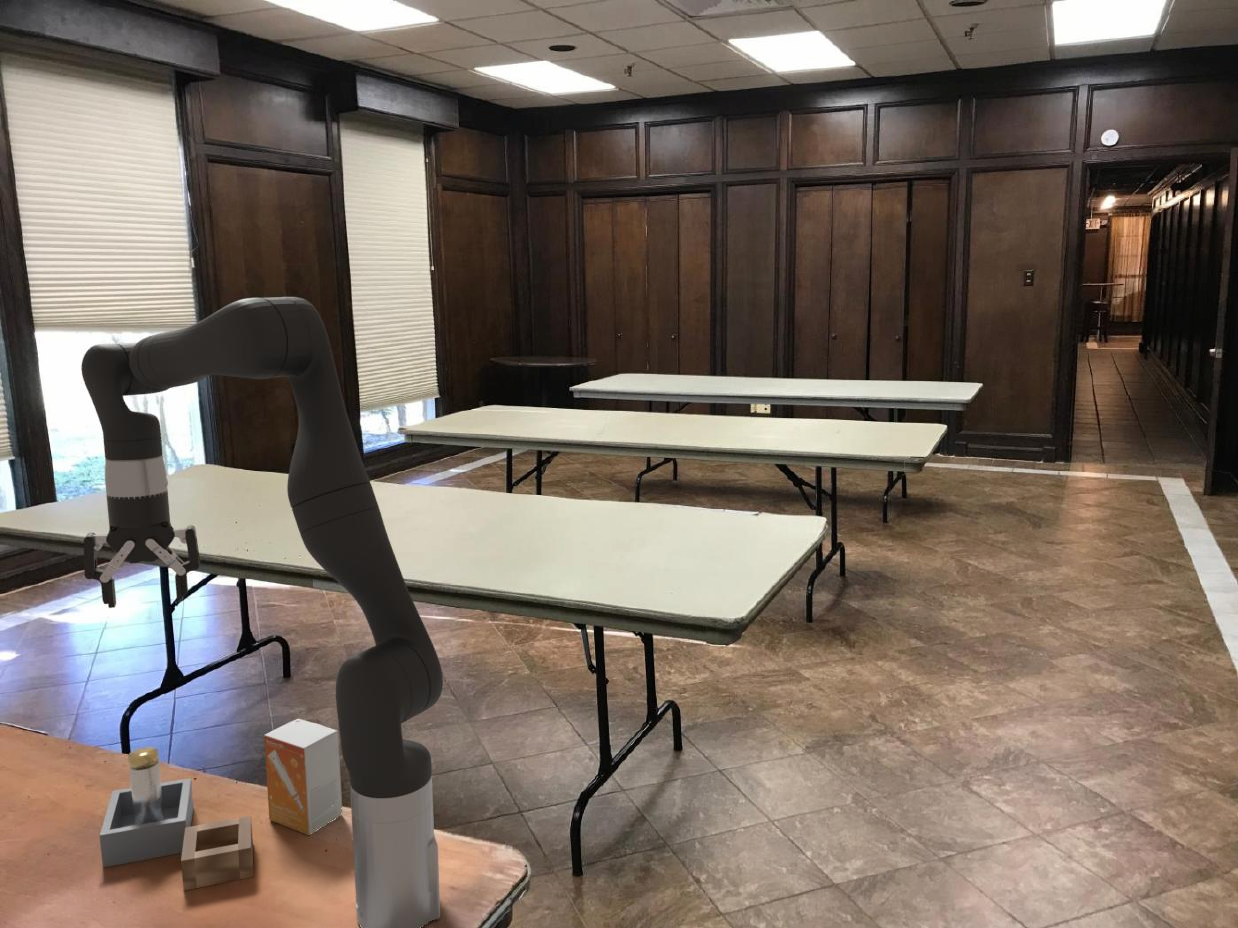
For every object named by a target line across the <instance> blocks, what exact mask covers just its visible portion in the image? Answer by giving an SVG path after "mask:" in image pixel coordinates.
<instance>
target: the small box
mask: <svg viewBox="0 0 1238 928" xmlns="http://www.w3.org/2000/svg"><path fill="white" fill-rule="evenodd" d="M263 737H264V739H263V740H264V753H265V756H264V757H265V771H266V790H267V801H268V802H267V803H268V820H269V821H271V822H274V823H276V824H277V823H278V824H280V825H282V826H283V827H284V826H285V827H287V828H290V829H292V830H295V831H298V832H299V833H302V834H304V835H306V834H307V835H306V836H308V835H310V834H311V833H313V834H315V833H316V832H317V831H316V830H317V829H319V828H320V827H322V826H324V827H326V826H327V825H326V824H327V823H328V822H330V821H332V820H334V819H335V818H337V817H339V816H340V815H341V813H342V814H343V804H342V803H343V802H342V801H343V800H342V784H341V783H342V780H341V766H340V764H341V763H340V748H339V747H340V744H339V731H338V730H337V729H334V728H330V727H328V726H324V725H323V724H319V723H316V722H311V721H308V720H305V719H301V718H297V719H294V720H291V721H289V722H288V723H285V724H283V725H281V726H280V727H277V728H275V729H273V730H271V731H270V732H267V733H266V734H265V733H264V735H263ZM332 805H333V806H332ZM341 808H342V809H341ZM340 817H341V816H340ZM340 817H339V818H340ZM337 819H338V818H337ZM334 821H335V820H334ZM332 822H333V821H332ZM325 825H326V826H325ZM315 831H316V832H315ZM314 832H315V833H314ZM310 836H311V835H310Z"/></svg>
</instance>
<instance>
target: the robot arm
mask: <svg viewBox="0 0 1238 928" xmlns="http://www.w3.org/2000/svg"><path fill="white" fill-rule="evenodd" d="M80 371H81V375H82V380H83V382H84V385H85V388H86V390H87V392H88V395H89V397H90V399H91V402H92V404H93V406H94V409H95V412H96V415H97V417H98V421H99V423H100V427H101V431H102V438H103V448H104V449H103V450H104V458H105V459H104V461H105V466H104V484H105V493H106V496H105V497H106V504H107V514H108V515H107V517H108V527H109V528H108V529H109V530H108V533H107V534H96V533H95V532H88V533H87V534H86V535H85V537H84V539H83V566H84V567H83V569H84V570H83V572H84V578H86V580H95V581H98V582H99V583H100V586H101V587H100V588H101V596H102V597H101V599H102V603H103V604H104V605H108V609H112V608H116V606H117V598H116V596H117V595H116V585H115V578H114V575H115V573H116V572H117V570H118V569H119V568H120V566H121V565H122V564H123V563H124V561H125V562H126V563H129V564H130V565H131V564H138V563H141V562H147V563H154V562H156V561H157V560H161V561H162V562H163V563H164V564H166V566H168V567H169V568H170V569H171V570H172V571H174V573H175V575H174V579H175V580H174V581H175V593H176V602H183V600H184V598H185V597H187V595H188V592H189V585H188V573H191V572H192V571H196V570H198V569H199V568H200V564H201V557H200V551H199V544H198V537H197V530H196V526H194V525H192V524H190V525H187V527H182V528H175V529H174V527H173V526H172V523H171V516H170V515H171V514H170V504H169V503H170V501H169V490H168V487H169V486H168V485H169V482H168V481H169V480H168V478H167V470H166V465H165V461H164V456H163V455H164V454H163V452H164V451H163V445H162V444H163V442H162V430H161V423H160V420H159V418H158V417H157V416H156V415H155V414H152V413H149V412H142V411H134V410H131V409H130V407H128V405H127V403H126V401H125V399H124V397H125V396H140V395H149V394H150V395H151V394H156V393H163V392H165V391H167V390H169V389H172V388H177V387H181V386H182V387H183V386H188V385H191V384H195V383H198V382H200V381H203V380H204V379H206V378H207V377H208V376H224V377H225V376H226V377H235V378H236V377H237V378H245V379H254V380H265V379H274V378H283V377H285V378H286V377H287V379H288V381H289V384H290V387H291V390H292V392H293V397H294V401H295V405H296V409H297V416H298V427H297V429H298V430H297V437H296V441H295V445H294V449H293V454H292V457H291V461H290V467H289V469H288V470H289V471H288V477H287V486H286V488H287V491H286V492H287V498H288V502H289V505H290V508H291V510H292V514H293V518H294V520H295V523H296V526H297V528H298V531H299V534H300V537H301V540H302V542H303V544H304V547H305V549H306V550H307V552H308V553H309V554H310V556H311V557H312V558H313V559H314V561H316V563H317V564H318V565H319V566H320V567H321V568H322V569H324V571H325V572H326V573H327V574H329V576H330V577H332V578H333V580H335V581H337V583H338V584H339V585H341V587H343V588H344V589H345V590H346V591H347V593H349V595H351V596H352V597H353V599H354V600H355V601H356V603H357V604H358V606H359V607H360V610H361V611H362V613H363V614H364V617H365V619H366V622H367V624H368V626H369V628H370V632H371V635H372V637H373V640H374V644H375V645H374V646H371V647H370V648H367V649H365V650H362V651H360V652H358V653H356V654H354V655H352V656H350V657H349V658H347V659H346V660H345V661H344V662H343V663H342V664H341V666H340V668H339V669H338V672H337V674H336V675H337V676H336V682H335V703H336V710H337V711H336V712H337V722H338V729H339V731H338V733H339V741H340V750H341V754H342V758H343V761H344V764H345V766H346V769H347V771H348V774H349V785H350V786H349V787H350V789H349V790H350V791H349V792H350V793H349V794H350V807H351V809H350V811H351V826H352V827H351V829H352V842H353V843H352V847H353V866H354V867H353V868H354V870H353V871H354V884H355V885H354V886H355V887H354V889H355V908H356V909H355V910H356V921H357V920H358V922H357V924H358V923H359V924H358V926H359V925H361V927H362V928H420V927H422V926H424V925H425V926H427V925H428V924H429V923H431V922H433V921H436V920H435V919H437V920H440V919H441V900H440V873H439V871H440V868H439V846H438V841H437V838H436V836H435V829H434V828H435V827H434V826H435V824H434V822H435V821H434V800H433V799H434V797H433V776H432V775H433V770H432V769H433V767H432V756H431V754H430V751H429V750H428V748H427V747H426V746H425V745H424V744H423V743H420V742H417V741H413V740H410V739H404V738H403V732H402V724H403V723H405V722H407V721H409V720H411V719H412V718H414V717H416V716H418V715H420V714H421V713H422V714H423V712H426V711H427V710H429V709H430V708H432V707H433V706H434V705H436V703H437V702H438V700H439V699H440V697H441V695H442V693H443V692H442V691H443V686H444V680H443V679H444V677H443V671H442V666H441V662H440V659H439V657H438V654H437V651H436V648H435V646H434V644H433V641H432V639H431V637H430V634H429V633H428V631H427V628H426V626H425V624H424V622H423V620H422V618H421V615H420V614H419V611H418V609H417V607H416V605H415V603H414V600H413V598H412V596H411V593H410V591H409V588H408V586H407V584H406V582H405V579H404V575H403V574H402V570H401V567H400V565H399V563H398V561H397V558H396V555H395V552H394V550H393V547H392V544H391V541H390V539H389V538H390V537H389V536H388V533H387V530H386V526H385V523H384V519H383V516H382V513H381V510H380V506H379V504H378V500H377V498H376V494H375V492H374V489H373V487H372V483H371V479H370V478H369V476H368V473H367V470H366V468H365V465H364V463H363V460H362V457H361V453H360V451H359V448H358V443H357V442H356V438H355V435H354V431H353V428H352V425H351V422H350V419H349V416H348V415H349V414H348V413H347V409H346V406H345V405H346V404H345V401H344V398H343V397H344V396H343V394H342V393H343V392H342V389H341V385H340V381H339V375H338V372H337V368H336V363H335V359H334V354H333V350H332V347H331V342H330V339H329V335H328V332H327V329H326V326H325V322H324V321H323V318H322V317H321V315H320V313H319V312H318V310H317V308H316V307H315V306H314V305H313V304H312V303H311V302H309V301H308V300H307V299H304V298H302V297H297V296H281V297H277V296H276V297H274V296H273V297H272V296H271V297H247V298H243V299H239V300H235V301H234V302H232V303H229V304H227V305H226V306H224V307H222V308H220V309H218V310H217V311H214V312H213V313H212V314H210V315H209V316H206V318H204V319H202V320H199V321H197V322H196V323H194V324H192V325H189V326H186V327H180V328H177V329H172V330H167V331H163V332H160V333H155V334H153V335H149V336H146V337H145V338H142V339H140V340H138V341H137V342H122V343H121V342H119V343H117V342H116V343H98V344H95V345H92V346H90V347H89V349H87V350H86V352H85V353H84V356H83V358H82V361H81V370H80ZM175 538H178V539H179V540H180V543H182V544H185V545H186V548H187V555H188V560H187V561H183V560H182V559H181V558H180V557H179V555H177V553H176V552H175V551H174V549H172V548H171V547H170V545H171V544H172V542H173V541H174V539H175ZM104 543H106V544H107V545H108V546H109V547H110V548H111V549H112V551H114V552H115V555H114V556H113V557H112V559H111V560H110V562H109V563H108V565H107V566H106V567H105V569H104V568H103V569H102V568H99V567H98V551H100V550H101V549H102V548H103V545H104ZM439 918H440V919H439ZM432 920H433V921H432ZM430 921H431V922H430ZM428 922H429V923H428ZM426 924H427V925H426ZM425 926H424V927H425Z"/></svg>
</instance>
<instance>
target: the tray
mask: <svg viewBox="0 0 1238 928" xmlns="http://www.w3.org/2000/svg"><path fill="white" fill-rule="evenodd" d="M192 787H193V786H192V778H191V777H190V778H189V777H188V778H183V779H178V780H177V779H175V780H170V781H164V782H161V789H162V800H163V811H164V820H163V821H157V822H151V823H146V824H140V825H135V824H134V813H133V803H132V792H131V787H128V788H127V787H126V788H121V789H116V790H112V792H111V795H110V799H109V802H108V805H107V808H106V809H107V810H106V812H105V816H104V819H103V823H102V825H101V830H100V833H99V843H100V851H101V862H102V863H101V864H102V868H103V869H104V868H109V867H113V866H119V865H124V864H129V863H130V864H131V863H134V862H140V861H141V862H142V861H144V860H150V859H155V858H156V859H157V858H161V857H167V856H172V855H176V854H182V849H183V842H184V834H185V828H186V827H191V826H192V822H193V814H194V797H193V788H192Z"/></svg>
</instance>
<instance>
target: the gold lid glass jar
mask: <svg viewBox="0 0 1238 928" xmlns="http://www.w3.org/2000/svg"><path fill="white" fill-rule="evenodd" d="M127 760H128V769H129V778H130V779H129V780H130V788H131V792H132V803H133V813H134V824H135V825H140V824H146V823H151V822H157V821H163V820H164V811H163V800H162V789H161V783H162V780H161V768H160V758H159V750H158V748H157V747H154V746H153V747H152V746H147V747H141V748H138V749H134V750H132V751H131V752H130V753H129V754H128V755H127Z"/></svg>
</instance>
